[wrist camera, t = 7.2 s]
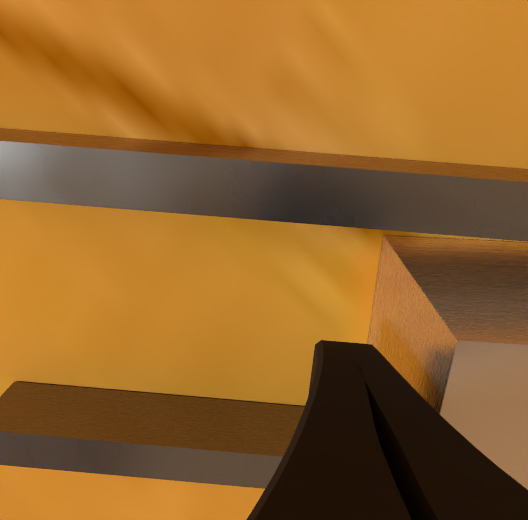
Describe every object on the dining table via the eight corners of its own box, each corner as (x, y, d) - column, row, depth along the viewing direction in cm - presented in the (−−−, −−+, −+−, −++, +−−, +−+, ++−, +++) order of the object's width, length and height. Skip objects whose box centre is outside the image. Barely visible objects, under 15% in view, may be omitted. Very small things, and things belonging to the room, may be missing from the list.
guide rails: (634, 466, 13) (726, 565, 11) (20, 412, 14) (-48, 494, 11) (779, 188, 10) (968, 225, 7) (-32, 125, 10) (-147, 138, 8)
